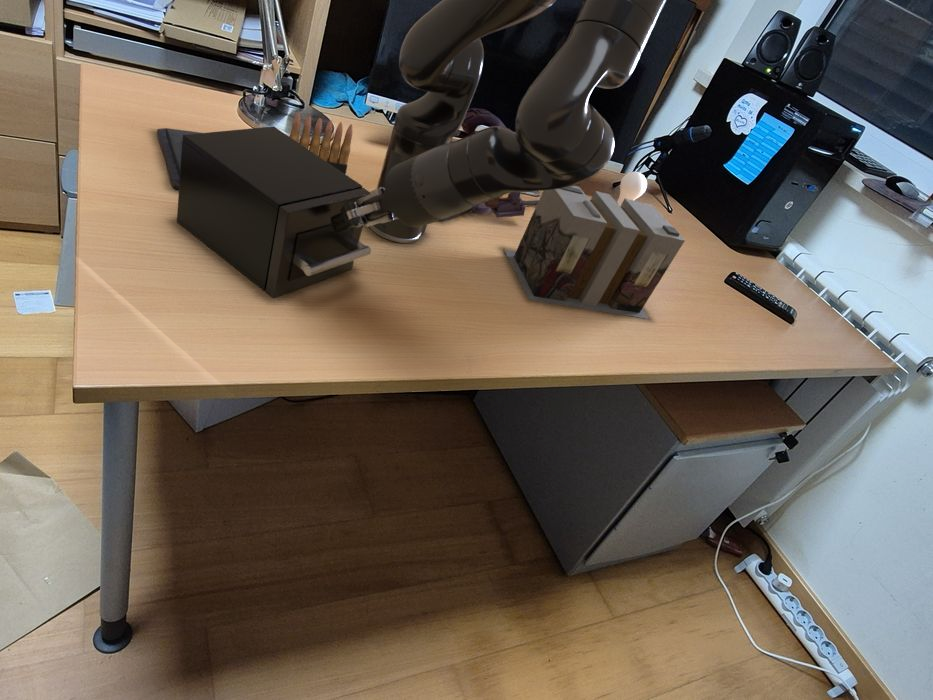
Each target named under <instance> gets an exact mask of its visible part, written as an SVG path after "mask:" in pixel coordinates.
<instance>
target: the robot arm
mask: <svg viewBox="0 0 933 700" xmlns="http://www.w3.org/2000/svg"><path fill="white" fill-rule="evenodd" d="M557 1H558V0H440V1H439V2H438V3H437V4H436V5H434V6H433V7H432V8H431V9H430V10H429V11H427V12H426V13H425V14H424V15H422V16H421V17H420V18H419V19H418V20H417V21H416V22H415V23H414V24H413V25H412V27H410V29H409V30H408V32H407V34H406V35H405V36H404V37H405V38H404V39H403V41H402V44H401V47H400V51H399V56H398V68H399V71H400V73H401V76H402V78H403V79H404V81H405V82H406V83H407V84H408V85H410V86H411V87H412V88H415V89H417V90H421V91H423V92H426V93H425V94H424V95H423V96H421V97H420V98H418V99H416V100H414V101H413V100H412V101H411V102H408V103H405V104H403V105H401V106H400V107H399V109H398V110H397V113H396V115H395V118H394V123H393V126H392V130H391V133H390V137H389V141H388V144H387V147H386V148H387V149H386V152H385V156H384V161H383V163H382V167H381V171H380V173H379V178H378V182H377V185H376V189H373V190H371V191H369V192H370V194H369V195H367V196H365V197H362V198H360V199H358V200H357V201H356V202H355V203H354V202H352V203H351V202H348V203H346V205H344V206H343V207H342V208H341V210H340V211H341V213H339V214H336V215H334V216H332V217H331V223H332V225H333V228H334V231H335V232H336V233H340V232H343V231H346V230H349V229H354V227H357V228H358V227H361V225H363V227H365V228H368V227H369V229H370V230H371V231H372V232H373V233H374V234H376V235H377V236H379V237H381V238H383V239H385V240H388V241H390V242H394V243H399V244H412V243H416V242H417V241H419V240H420V238H421V236H424V235H425V233H426V229H427V227H428V225H429V224H430V225H431V224H432V223H436V222H438V221H440V222H446V221H449V220H452V219H454V218H456V217H458V216H461V215H463V214H468V213H473V212H472V211H475V210H476V209H475V208H474V207H473V206H475V205H478V204H480V203H483V202H486V201H489V200H492V199H495V198H498V197H500V196H504V195H509V193H514V192H520V193H533V192H543V190H553V189H561V188H567V187H571V186H578V185H581V184H583V183H585V182H587V181H589V180H591V179H593V178H594V177H595V176H597V175H598V174H599V173H600V172H602V171H603V169H605V167H607V165H608V164H609V162H610V160H611V158H612V156H613V153H614V150H615V144H616V143H615V135H614V132H613V129H612V128H611V126H610V124H609V123H608V122H607V120H606V119H605V118H604V117H603V116H602V115H601V114H600V112H599V111H598V110H597V109H595V107H594V106H593V105H592V104H591V102H590V101H589V99H590V96H591V94H592V92H593V90H594V89H595V87H596V88H601V89H607V90H609V89H611V90H612V89H616V88H620V87H621V86H623V85H624V84H625V83H626V82H628V80H629V79H630V78H631V76H632V74H633V72H634V71H635V69H636V67H637V65H638V63H639V60H640V59H641V56H642V54H643V52H644V50H645V48H646V45H647V43H648V41H649V39H650V37H651V35H652V32H653V30H654V28H655V26H656V24H657V21H658V18H659V17H660V14H661V12H662V11H663V9H664V6H665V4H666V2H667V0H583V3H582V6H581V8H580V10H579V13H578V14H577V17H576V19H575V21H574V23H573V26H572V28H571V30H570V33H569V35H568V37H567V39H566V40H565V42H564V43H563V45H562V46H561V47H560V48H559V49H558V51H557V52H556V53H555V54H554V56H553V57H552V58H551V59H550V60H549V61H548V64H547V65H546V66H545V67H544V68H543V70H542V71H541V72H540V73H539V75H538V76H537V77H536V78H535V79H534V81H533V82H532V84H530V86H529V87H528V89H527V90H526V91H525V93H524V95H523V96H522V98H521V100H520V102H519V104H518V107H517V111H516V114H515V120H514V131H512V129H510V130H508V129H509V128H508V129H506V128H507V127H506V128H503V127H499V126H492V127H491V126H488V127H485V128H483V129H480V130H477V131H478V132H475V133H473V134H471V135H468V134H467V135H466V136H464V137H461V138H459V139H457V140H454V141H453V138H454V136H455V135H456V134H457V133H458V131H459V130H460V129H461V128H462V123H463V121H464V118H465V116H466V113H467V111H468V110H469V109H470V105H471V103H472V100H473V98H474V95H475V93H476V90H477V88H478V86H479V83H480V79H481V76H482V72H483V68H484V59H485V51H484V45H483V42H482V40H481V38H484V37H485V36H488V35H491V34H494V33H496V32H499V31H502V30H504V29H507V28H510V27H512V26H515V25H518V24H521V23H523V22H525V21H528V20H530V19H532V18H534V17H536V16H538V15H540V14H542V13H543V12H545V11H546V10H547V9H548V8H550V7H551V6H552V5H553V4H555V3H556V2H557ZM538 201H539V199H538V200H523V202H524V206H532V205H534V206H535V205H537V204H538Z"/></svg>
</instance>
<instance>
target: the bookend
mask: <svg viewBox="0 0 933 700" xmlns="http://www.w3.org/2000/svg"><path fill="white" fill-rule="evenodd" d="M538 200H539V201H538V204H536V206H535V208H534V211H533V213H532V215H531V217H530V220H529V222H528V224H527V226H526V228H525V230H524V233H523V235H522V237H521V240H520V242H519V244H518V245H517V249H515V251H514V250H510V249H503V251H504V253H505V255H506V257H507V259H508V261H509V263H510V265H511V267H512V269H513V271H514V273H515V275H516V277H517V279H518V281H519V282H520V283H519V284H520V285H521V288H522V289H523V291H524V293H525V294H526V297H527V299H528V300H529V301H534V302H539V303H546V304H552V305H558V306H559V305H560V306H565V307H571V308H577V309H585V310H591V311H597V312H601V313H602V312H603V313H610V314H616V315H621V316H628V317H634V318H640V319H647V320H650V319H649V316H648V315H647V314H646V312H645V311H644V307H645V305H646V303H647V302H648V300H649V299H650V297H651V296H652V294H653V293H654V291H655V289H656V288H657V286H658V285H659V283H660V281H661V280H662V278H663V277H664V276H665V273H666V272H667V270H668V268H670V266H671V264H672V263H673V261H674V259H675V257H676V256H677V254H678V253H679V251H680V250H681V248H682V246H683V245H684V243H685V241H686V240H685V239H684V238H683V236H681V234H680V232H679V231H678V230H677V229H676V228H675V227H674V226H672V224H671V223H670V222H669V221H668V220H667V219H666V218H665V216H663V215H662V214H661V212H660V211H659V210H658V209H657V208H656V207H655V206H654V204H649V203H645V202H641V201H638V200H630V199H626V198H625V199H624V201H623V203H622V204H621V206H619V205H618V204H617V203H618V202H617V201H616V200H615V199H614V197H612V195H611V194H609V193H606V192H601V191H597V190H595V191H594V192H593V194H592V196H591V198H589V197H588V196H587V194H585V192H584V191H583V190H582V188H581V187H580V186H578V185H575V186H571V187H567V188H561V189H553V190H543V191H541V195H540V197H539V199H538Z"/></svg>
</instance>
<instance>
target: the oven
mask: <svg viewBox="0 0 933 700" xmlns="http://www.w3.org/2000/svg"><path fill="white" fill-rule="evenodd" d="M289 136H290V135H288V134H286V133H285V132H283V131H282V130H280V129H279V128H277V127H276V126H264V127H253V128H242V129H231V130H222V131H210V132H199V133H198V134H188V135H183V139H182V140H183V141H182V152H181V167H180V182H179V190H178V196H177V197H178V198H177V210H176V211H177V213H176V223H177V224H178V225H179V226H181V227H182V228H183V229H185V230H186V231H187V232H188V233H190V234H191V235H192V236H193V237H195V238H196V239H197V240H198V241H200V242H201V243H202V244H204V245H205V246H206V247H207V248H209V250H211V251H212V252H214V253H215V254H216V255H217V256H218V257H220V258H221V259H222V260H223V261H225V262H226V263H227V264H229V265H230V266H231V267H233V269H235V270H236V271H238V272H239V273H240V274H241V275H243V276H244V277H245V278H246V279H248V280H249V281H250V282H251V283H253V284H254V285H255V286H256V287H258V288H259V289H261V290H262V291H263V292H266V285H267V279H268V273H269V267H270V261H271V255H272V249H273V243H274V237H275V232H276V226H277V220H278V214H279V208H280V206H284V205H288V204H293V203H297V202H302V201H306V200H311V199H315V198H320V197H324V196H329V195H333V194H337V193H342V192H346V191H351V190H355V189H360V188H364V187H363V185H362V184H360V183H359V182H358V181H356V180H355V179H353V178H352V177H350V176H349V175H347V173H346V174H344V173H343V172H341V171H340V170H338V169H337V168H335V167H334V166H332V165H331V164H329V163H328V162H326V161H325V160H323V159H322V158H320V157H319V156H317V155H316V154H314V153H313V152H311V151H310V150H309V148H308V149H307V148H305V147H304V146H302V145H301V144H299V142H296V141H295V140H293V139H292V138H290V137H289Z"/></svg>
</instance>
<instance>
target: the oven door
mask: <svg viewBox="0 0 933 700" xmlns="http://www.w3.org/2000/svg"><path fill="white" fill-rule="evenodd" d="M370 192H371V191H369V189H368V190H367V189H366V188H365V187H362V188H360V189H355V190H351V191H346V192H342V193H337V194H333V195H329V196H324V197H320V198H315V199H311V200H306V201H302V202H297V203H293V204H288V205H284V206H280V208H279V214H278V220H277V226H276V232H275V237H274V243H273V249H272V255H271V261H270V267H269V273H268V279H267V285H266V290H265V293H266V294H268V295H269V296H270V297H271V298H273V299H274V298H277V297H280V296H283V295H285V294H288V293H292V292H293V291H297V290H300V289H302V288H305V287H308V286H310V285H313V284H315V283H318V282H321V281H324V280H326V279H329V278H332V277H334V276H337V275H340V274H343V273H347V272H349V271H351V270H352V269H353V266H354V261H357V260H359V259H361V258H365V257H368V256H370V255H371V253H372V249H371V247H370V246H369V245H366V244H364V243H363V242H361V241H360V240H361V236H362V231H363V227H364V225H361V227H358V228H357V227H354V229H349V230H346V231H343V232H340V233H336V232H335V231H334V228H333V225H332V223H331V217H332V216H334V215H336V214H339V213H341V211H340V210H341V208H342V207H343V206H344V205H346V203H348V202H351V203H352V202H354V203H355V202H356V201H357V200H358V199H360V198H362V197H365V196H367V195H369V194H370Z"/></svg>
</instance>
